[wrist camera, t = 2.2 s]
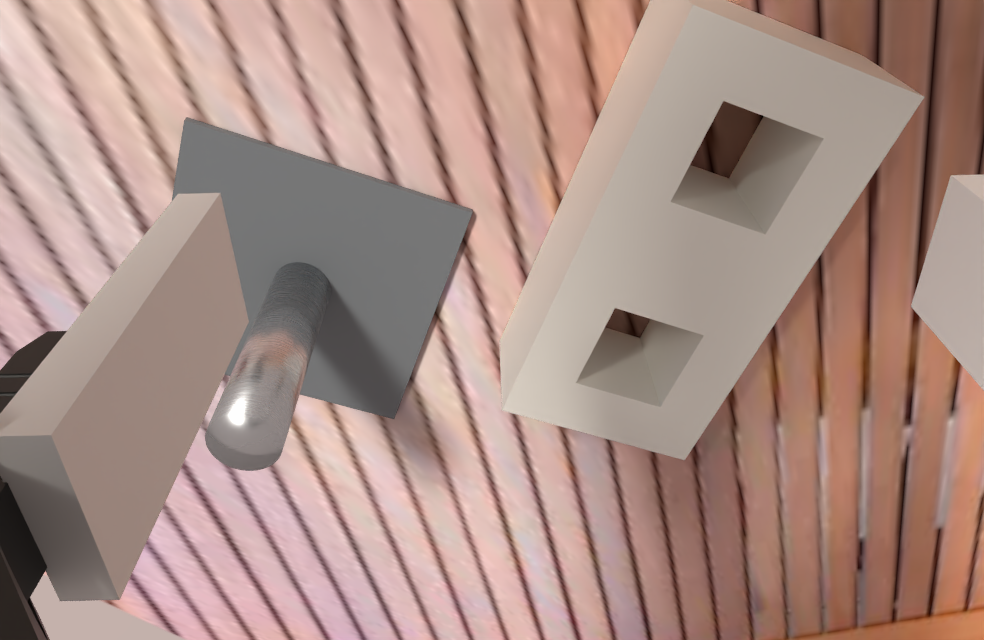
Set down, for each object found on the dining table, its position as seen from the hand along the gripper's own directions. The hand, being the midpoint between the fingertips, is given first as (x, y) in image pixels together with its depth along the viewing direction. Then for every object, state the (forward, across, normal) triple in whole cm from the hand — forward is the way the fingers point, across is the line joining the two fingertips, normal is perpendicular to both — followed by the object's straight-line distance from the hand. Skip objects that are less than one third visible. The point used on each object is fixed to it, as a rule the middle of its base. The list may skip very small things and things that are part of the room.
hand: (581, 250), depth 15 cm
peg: (+23, -12, -14) cm, 29 cm away
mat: (+23, -12, -14) cm, 29 cm away
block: (+23, +7, -10) cm, 26 cm away
